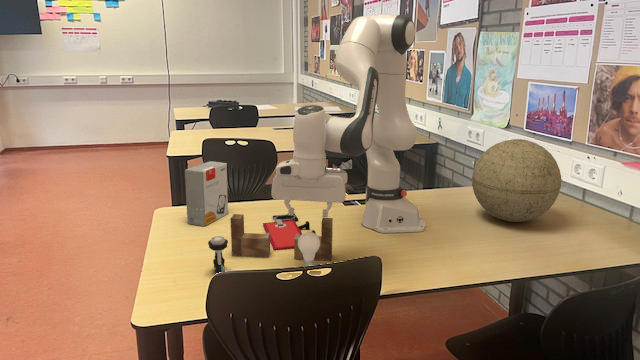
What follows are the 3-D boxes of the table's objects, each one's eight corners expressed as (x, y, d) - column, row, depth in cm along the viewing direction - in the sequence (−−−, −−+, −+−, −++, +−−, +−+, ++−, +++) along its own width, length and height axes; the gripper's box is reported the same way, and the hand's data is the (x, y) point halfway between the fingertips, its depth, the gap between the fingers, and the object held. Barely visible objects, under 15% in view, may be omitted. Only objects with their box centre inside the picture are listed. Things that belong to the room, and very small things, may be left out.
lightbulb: (303, 275, 134) (303, 238, 131) (294, 266, 139) (293, 230, 136) (323, 270, 136) (324, 234, 133) (313, 262, 142) (314, 227, 139)
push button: (208, 266, 138) (206, 234, 135) (227, 264, 140) (225, 232, 137) (210, 277, 132) (208, 243, 129) (230, 274, 134) (228, 241, 131)
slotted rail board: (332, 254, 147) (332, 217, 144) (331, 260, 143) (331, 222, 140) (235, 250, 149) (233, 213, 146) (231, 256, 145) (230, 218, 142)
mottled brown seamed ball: (516, 203, 197) (525, 131, 189) (574, 229, 170) (587, 145, 162) (452, 210, 188) (459, 134, 180) (503, 238, 161) (514, 150, 153)
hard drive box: (205, 227, 168) (201, 172, 163) (186, 224, 171) (183, 169, 166) (229, 213, 182) (226, 162, 177) (211, 211, 185) (209, 160, 180)
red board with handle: (299, 215, 181) (259, 219, 178) (299, 208, 180) (259, 212, 177) (320, 247, 154) (274, 253, 150) (320, 239, 153) (273, 244, 149)
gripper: (348, 166, 132) (346, 213, 135) (274, 162, 133) (274, 210, 137) (347, 171, 126) (345, 221, 129) (270, 168, 127) (270, 217, 131)
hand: (308, 215), depth 133 cm, fingers open, 8 cm apart
